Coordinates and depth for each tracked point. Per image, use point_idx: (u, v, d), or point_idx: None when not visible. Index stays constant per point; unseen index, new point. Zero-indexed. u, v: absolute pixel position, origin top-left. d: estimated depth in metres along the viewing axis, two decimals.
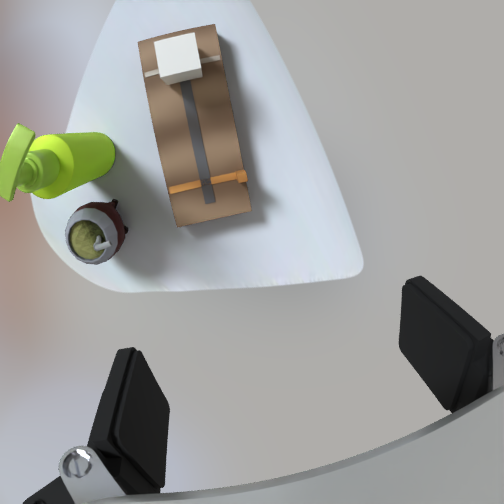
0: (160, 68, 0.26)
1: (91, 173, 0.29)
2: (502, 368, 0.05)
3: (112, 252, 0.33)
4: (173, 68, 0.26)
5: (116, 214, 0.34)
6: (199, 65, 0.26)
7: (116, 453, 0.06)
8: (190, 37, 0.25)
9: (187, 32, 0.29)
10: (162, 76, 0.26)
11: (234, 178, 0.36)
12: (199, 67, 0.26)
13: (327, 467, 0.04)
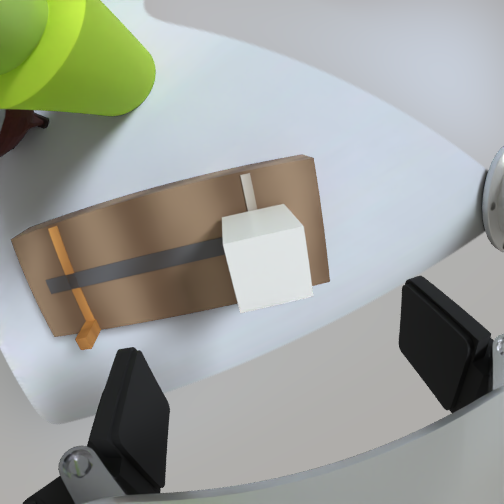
0: (242, 243, 0.15)
1: None
2: (502, 368, 0.05)
3: None
4: (240, 267, 0.16)
5: (7, 148, 0.15)
6: (245, 310, 0.17)
7: (116, 453, 0.06)
8: (303, 291, 0.17)
9: (319, 242, 0.22)
10: (225, 247, 0.15)
11: (86, 318, 0.22)
12: (241, 310, 0.17)
13: (327, 467, 0.04)
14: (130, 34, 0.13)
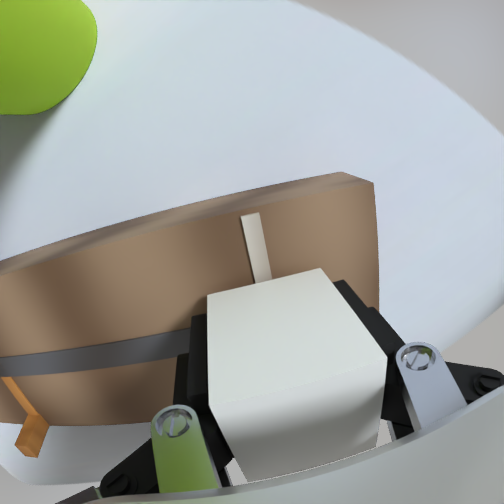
0: (253, 402, 0.06)
1: None
2: (416, 382, 0.06)
3: None
4: (249, 435, 0.07)
5: None
6: (256, 478, 0.08)
7: (210, 409, 0.07)
8: (361, 445, 0.08)
9: None
10: (214, 408, 0.06)
11: (28, 412, 0.13)
12: (249, 478, 0.08)
13: (327, 467, 0.04)
14: None
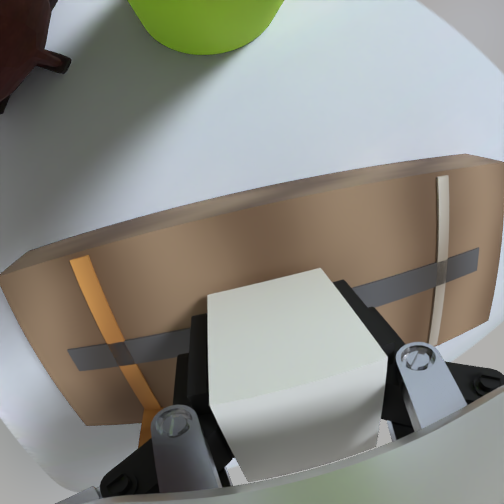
0: (254, 402, 0.06)
1: None
2: (416, 382, 0.06)
3: None
4: (250, 435, 0.07)
5: None
6: (257, 478, 0.08)
7: (210, 408, 0.07)
8: (362, 445, 0.08)
9: (492, 273, 0.13)
10: (215, 408, 0.06)
11: (145, 406, 0.13)
12: (249, 478, 0.08)
13: (327, 467, 0.04)
14: None
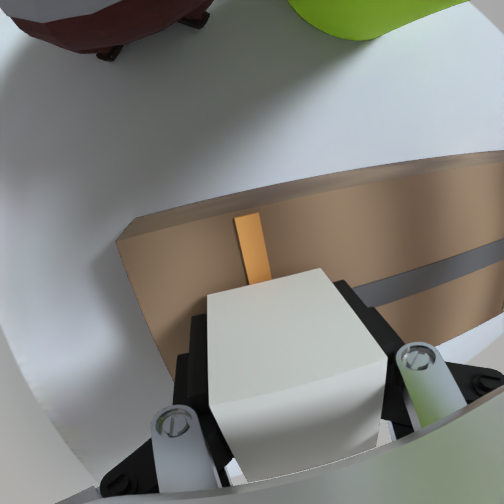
0: (254, 402, 0.06)
1: None
2: (416, 382, 0.06)
3: (10, 8, 0.04)
4: (249, 435, 0.07)
5: (172, 13, 0.06)
6: (256, 479, 0.08)
7: None
8: (361, 445, 0.08)
9: None
10: (214, 408, 0.06)
11: None
12: (249, 479, 0.08)
13: (327, 467, 0.04)
14: None
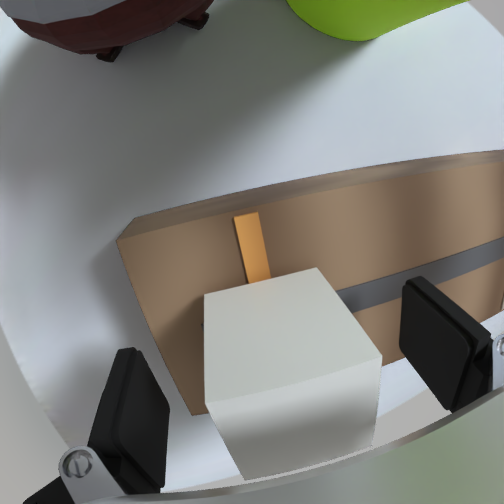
0: (249, 400, 0.06)
1: None
2: (502, 368, 0.05)
3: (11, 9, 0.04)
4: (245, 433, 0.07)
5: (172, 14, 0.06)
6: (253, 477, 0.08)
7: (116, 453, 0.06)
8: (358, 444, 0.08)
9: None
10: None
11: None
12: (246, 477, 0.08)
13: (327, 467, 0.04)
14: None
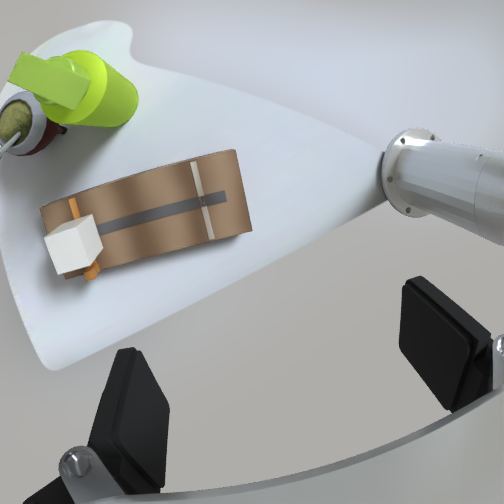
0: (51, 237, 0.26)
1: None
2: (502, 368, 0.05)
3: (6, 151, 0.23)
4: (53, 249, 0.26)
5: (44, 146, 0.26)
6: (59, 272, 0.27)
7: (116, 453, 0.06)
8: (84, 262, 0.27)
9: (242, 203, 0.34)
10: (45, 239, 0.26)
11: None
12: (58, 273, 0.27)
13: (327, 467, 0.04)
14: (124, 80, 0.24)
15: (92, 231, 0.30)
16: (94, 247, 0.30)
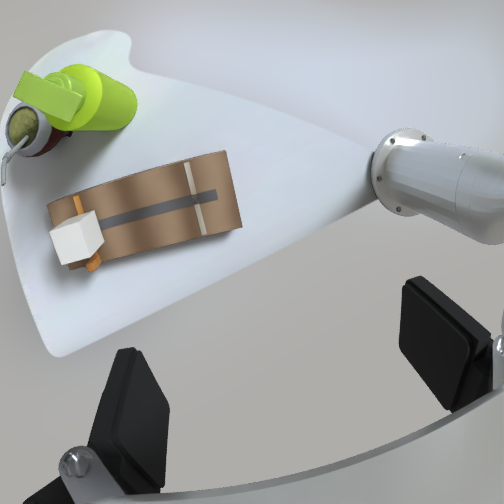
0: (56, 230, 0.29)
1: None
2: (502, 368, 0.05)
3: (15, 152, 0.26)
4: (57, 242, 0.29)
5: (50, 148, 0.29)
6: (63, 263, 0.30)
7: (116, 453, 0.06)
8: (85, 254, 0.30)
9: (233, 201, 0.36)
10: (50, 233, 0.29)
11: None
12: (61, 263, 0.30)
13: (327, 467, 0.04)
14: (121, 88, 0.27)
15: (94, 226, 0.33)
16: (95, 241, 0.33)
